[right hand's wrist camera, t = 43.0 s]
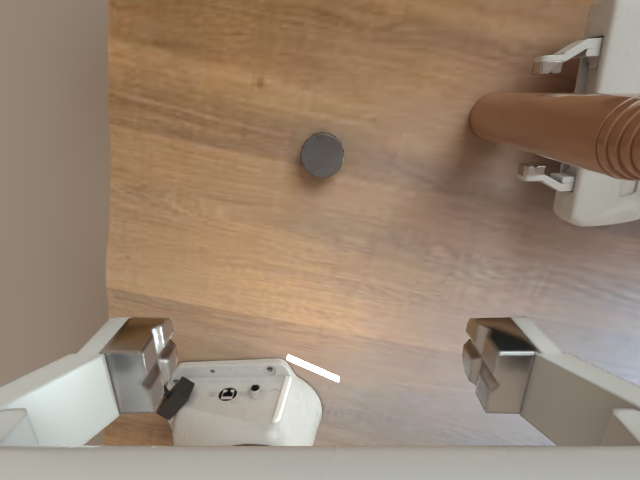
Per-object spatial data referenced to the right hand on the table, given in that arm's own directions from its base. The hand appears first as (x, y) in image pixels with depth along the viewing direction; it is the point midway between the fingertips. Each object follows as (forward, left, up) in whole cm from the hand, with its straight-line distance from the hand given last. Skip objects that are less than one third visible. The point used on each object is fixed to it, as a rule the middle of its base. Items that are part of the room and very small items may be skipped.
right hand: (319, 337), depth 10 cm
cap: (0, 0, -31) cm, 31 cm away
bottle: (+17, +6, -33) cm, 38 cm away
